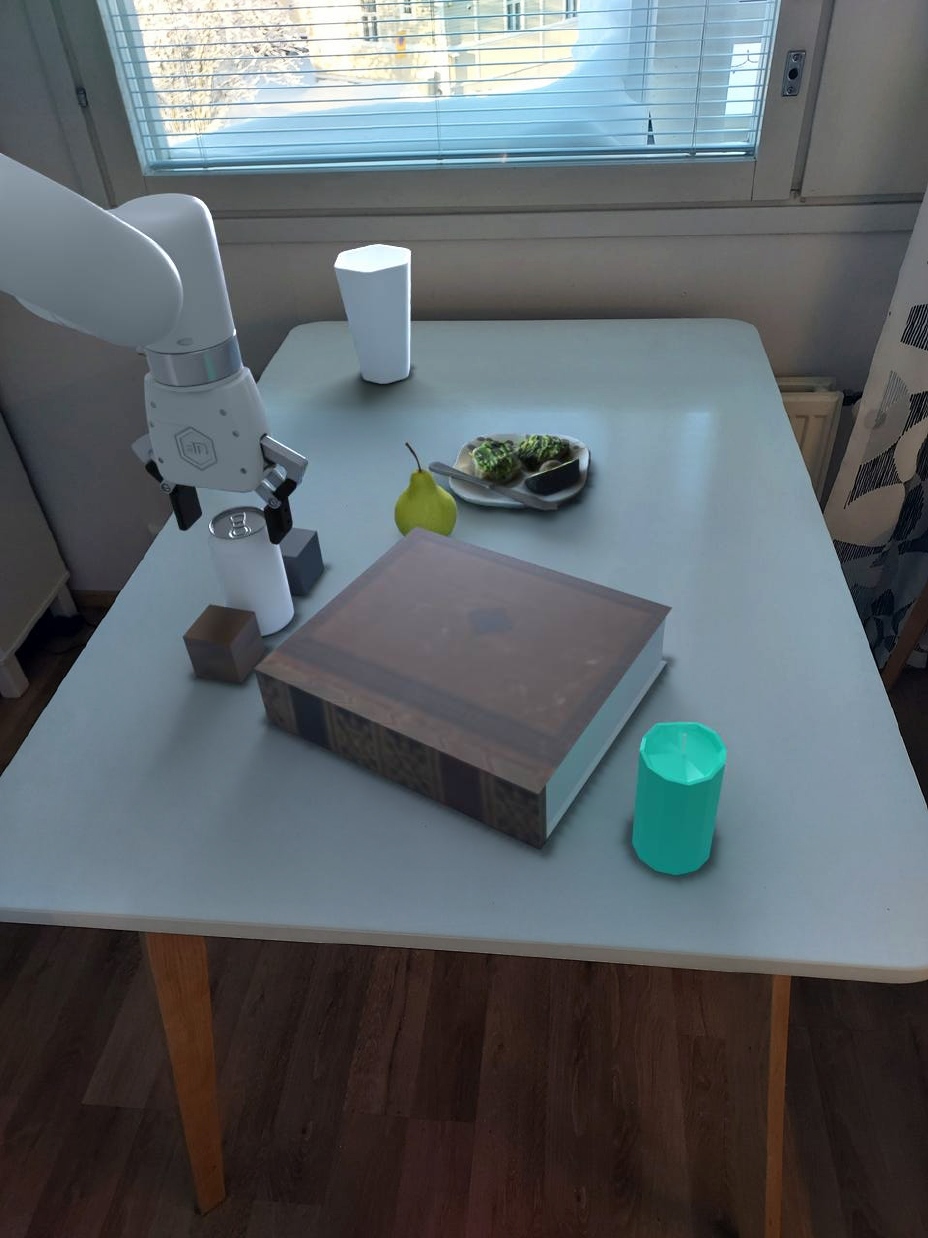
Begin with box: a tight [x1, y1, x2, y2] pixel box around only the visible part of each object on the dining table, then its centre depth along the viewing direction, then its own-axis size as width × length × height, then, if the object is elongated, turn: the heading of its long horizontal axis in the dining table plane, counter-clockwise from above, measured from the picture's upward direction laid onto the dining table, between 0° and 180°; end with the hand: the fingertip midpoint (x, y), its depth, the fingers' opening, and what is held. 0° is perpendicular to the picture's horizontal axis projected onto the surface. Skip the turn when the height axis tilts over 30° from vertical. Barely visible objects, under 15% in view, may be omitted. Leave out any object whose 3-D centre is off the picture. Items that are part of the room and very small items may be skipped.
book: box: [253, 527, 673, 850], centre depth 83 cm, size 24×28×6 cm
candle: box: [631, 721, 728, 876], centre depth 67 cm, size 6×6×12 cm
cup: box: [333, 244, 412, 385], centre depth 134 cm, size 11×10×17 cm
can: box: [207, 505, 295, 638], centre depth 92 cm, size 6×6×12 cm
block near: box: [182, 603, 266, 685], centre depth 89 cm, size 5×5×5 cm
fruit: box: [393, 441, 458, 537], centre depth 101 cm, size 7×7×12 cm
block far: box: [279, 526, 325, 596], centre depth 99 cm, size 5×5×5 cm
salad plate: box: [427, 432, 592, 512], centre depth 112 cm, size 19×18×5 cm
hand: (235, 529), depth 88 cm, fingers open, 9 cm apart
